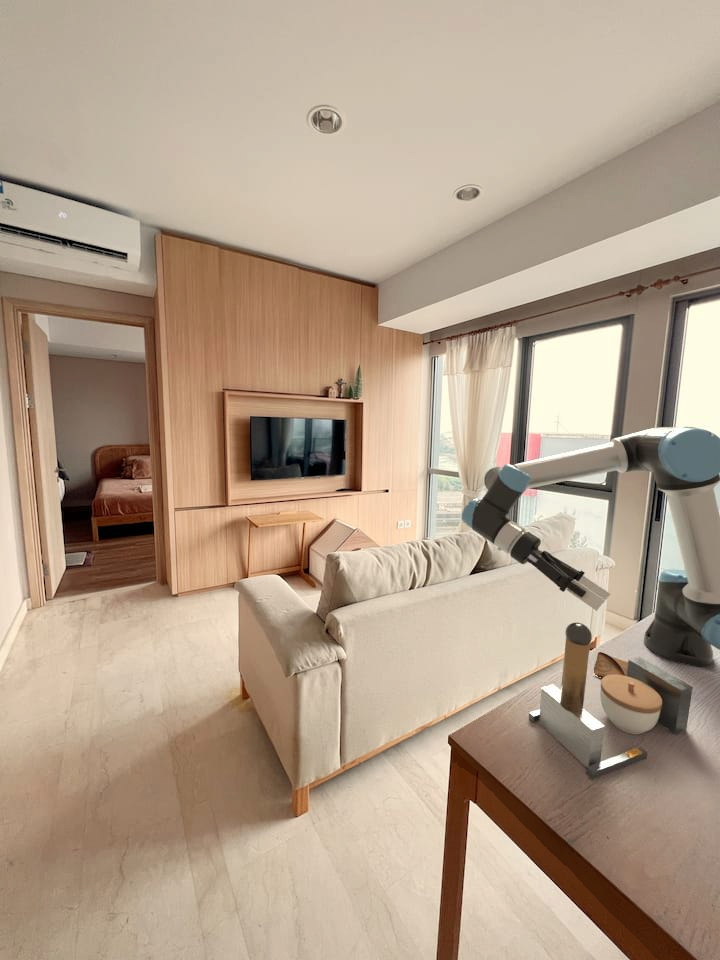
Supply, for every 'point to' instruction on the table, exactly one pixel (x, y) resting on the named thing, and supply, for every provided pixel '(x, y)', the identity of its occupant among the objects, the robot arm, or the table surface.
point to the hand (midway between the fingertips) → (604, 601)
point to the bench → (671, 716)
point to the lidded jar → (630, 703)
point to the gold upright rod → (573, 702)
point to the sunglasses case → (609, 666)
